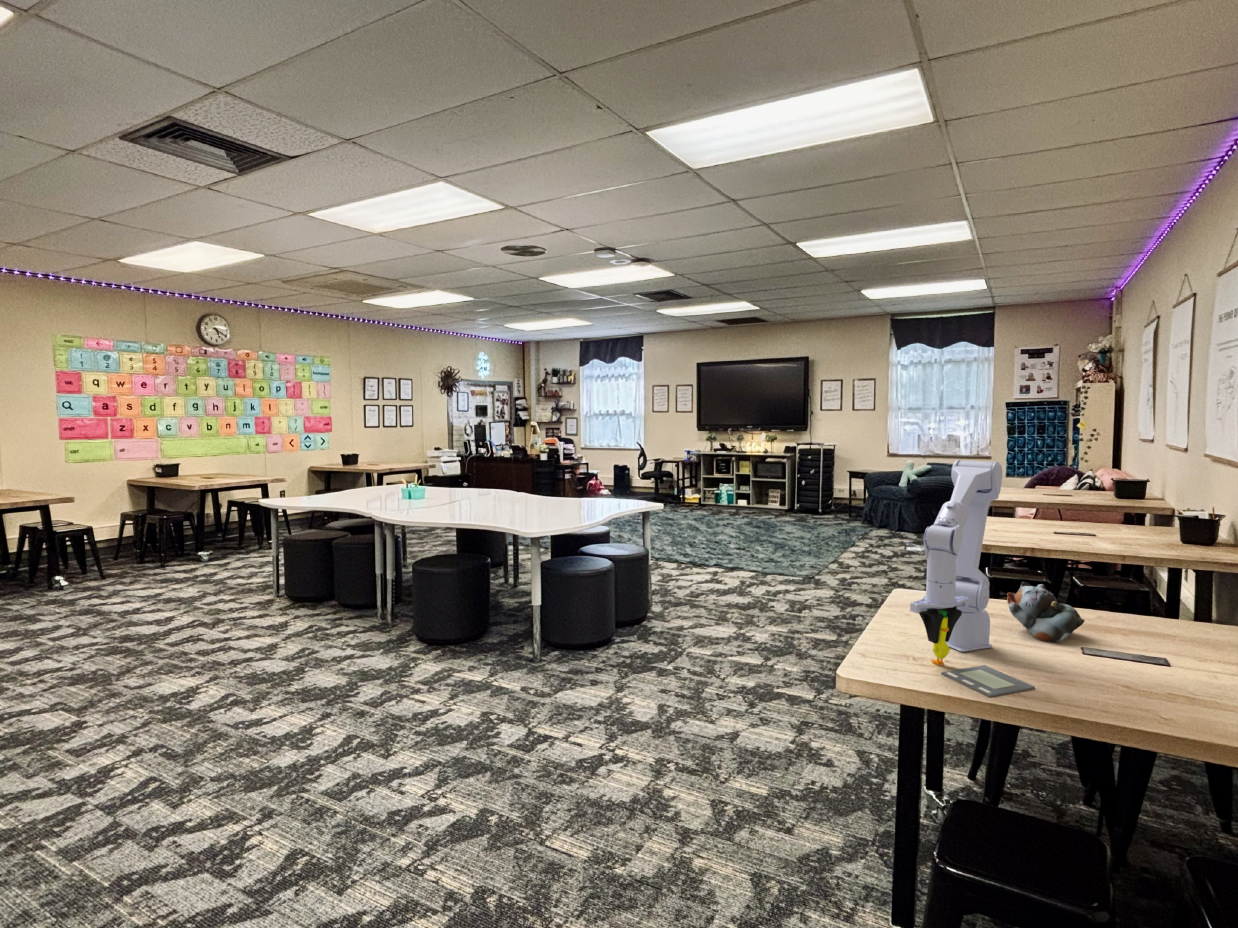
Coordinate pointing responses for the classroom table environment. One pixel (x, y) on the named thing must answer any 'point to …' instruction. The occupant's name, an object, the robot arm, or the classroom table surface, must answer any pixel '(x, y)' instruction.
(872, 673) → the classroom table surface
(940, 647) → the toy figure
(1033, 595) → the lucky cat figurine
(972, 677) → the display panel
